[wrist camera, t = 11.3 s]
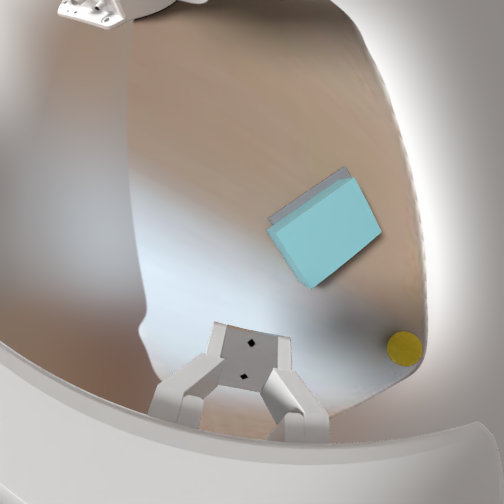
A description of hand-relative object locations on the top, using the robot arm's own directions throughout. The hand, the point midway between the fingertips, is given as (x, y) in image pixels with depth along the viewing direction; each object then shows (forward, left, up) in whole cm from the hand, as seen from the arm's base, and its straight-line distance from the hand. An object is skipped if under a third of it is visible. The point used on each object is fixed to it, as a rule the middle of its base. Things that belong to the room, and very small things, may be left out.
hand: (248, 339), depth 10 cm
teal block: (+8, +3, -21) cm, 23 cm away
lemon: (+33, -4, -23) cm, 41 cm away
